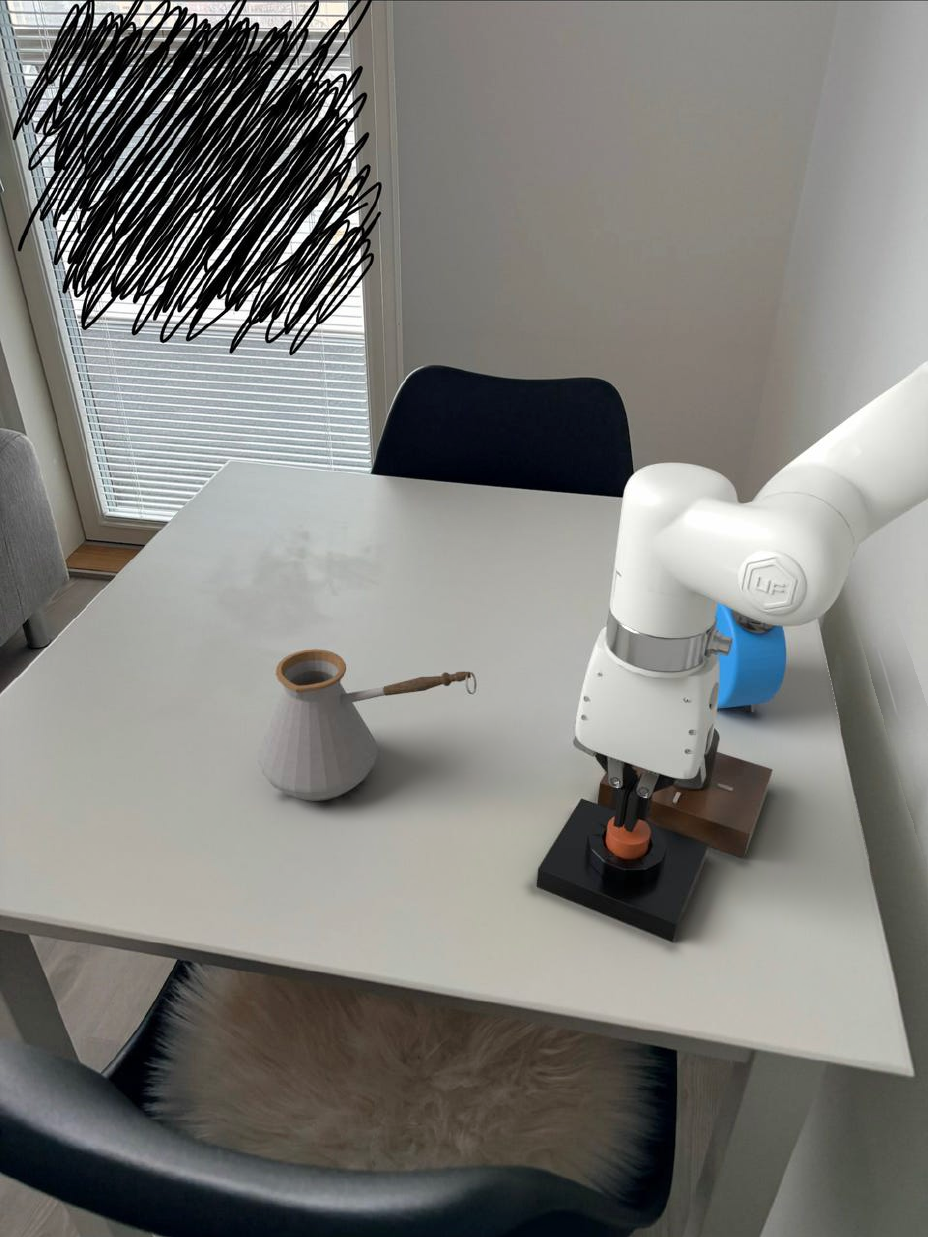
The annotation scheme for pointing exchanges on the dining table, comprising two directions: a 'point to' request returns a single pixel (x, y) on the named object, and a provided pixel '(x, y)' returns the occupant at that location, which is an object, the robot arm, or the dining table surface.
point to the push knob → (628, 840)
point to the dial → (708, 761)
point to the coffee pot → (325, 726)
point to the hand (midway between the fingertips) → (628, 818)
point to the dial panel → (710, 804)
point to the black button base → (623, 872)
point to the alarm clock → (749, 660)
